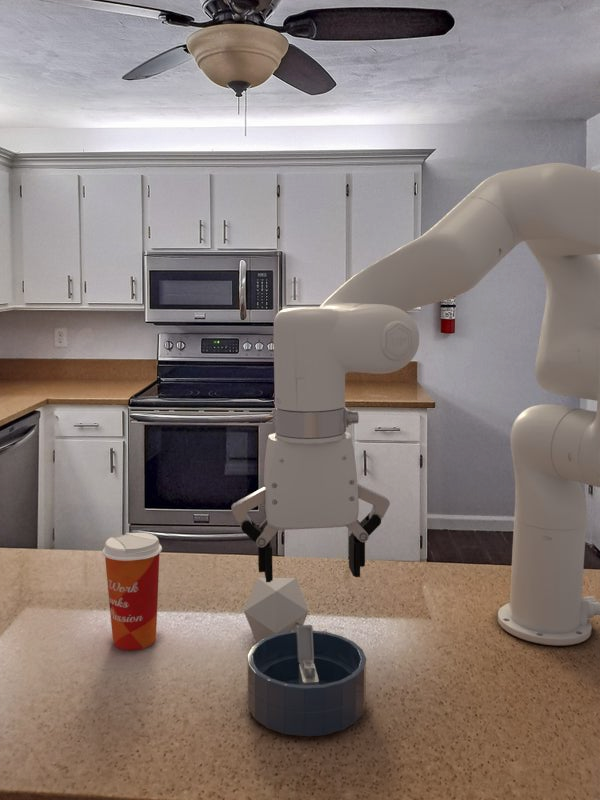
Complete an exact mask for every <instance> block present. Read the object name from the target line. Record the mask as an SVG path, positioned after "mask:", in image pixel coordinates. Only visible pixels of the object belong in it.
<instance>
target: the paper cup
mask: <svg viewBox="0 0 600 800" xmlns="http://www.w3.org/2000/svg"><path fill="white" fill-rule="evenodd" d="M162 550H163V547H162V545H161V544H160V540H159V538H158V537H157V536H156V535H155V534H151V533H148V532H126V533H125V534H123V533H122V534H119V535H115V536H114V537H111V536H110V537H109V538H108V539H107V540H106V541H105V543H104V547H103V548H102V552H101V553H102V555H103V556H104V560H105V561H104V562H105V570H106V571H105V572H106V581H107V583H106V584H107V595H108V605H109V615H110V624H111V634H112V635H111V636H112V642H113V645H114V647H115V648H117V649H120V650H122V651H139V650H143V649H147V648H148V647H150V646H152V645H153V644H154V643H155V642H156V637H157V626H158V625H157V623H158V601H159V575H160V553H162Z"/></svg>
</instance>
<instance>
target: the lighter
mask: <svg viewBox="0 0 600 800" xmlns="http://www.w3.org/2000/svg"><path fill="white" fill-rule="evenodd" d="M313 629H314V628H313V625H311V624H306V625H305V624H303V625H300V626H297V627H296V631H297V657H298V663H300V664H299V685H319V679H318V676H317V672H316V668H315V665H314V663H313V662H314V649H313V631H314V630H313Z"/></svg>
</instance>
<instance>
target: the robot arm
mask: <svg viewBox="0 0 600 800" xmlns="http://www.w3.org/2000/svg"><path fill="white" fill-rule="evenodd" d="M523 242H524V243H525V245H526V246H527V248H528V249H529V251H530V252H531V253H532V255H533V257H534V258H535V260H536V262H537V263H538V265H539V267H540V269H541V271H542V274H543V276H544V280H545V287H546V295H545V303H544V311H543V316H542V322H541V328H540V334H539V340H538V341H539V342H538V345H537V351H536V356H535V366H534V374H535V380H536V381H537V384H538V385H539V387H541V389H543V390H544V391H546V392H549V393H552V394H555V395H559V396H564V397H568V398H569V397H570V398H574V399H575V398H576V399H582V400H589V401H596V402H597V403H596V410H589V409H588V410H587V409H585V408H580V407H573V406H566V405H559V404H553V403H552V404H551V403H550V404H549V403H544V404H543V403H542V404H535V405H532V406H530V407H527V408H526V409H524V410H522V411H521V413H519V415H518V416H517V417H516V418H515V420H514V422H513V424H512V427H511V431H510V439H509V441H510V452H511V458H512V459H511V460H512V464H513V471H514V482H515V483H514V488H515V489H514V490H515V492H514V494H515V495H514V514H513V515H514V516H513V531H512V532H513V533H512V552H511V571H510V572H511V573H510V589H509V592H510V593H509V602H508V603H506V604H504V605H502V606H501V607H500V608H499V609H498V611H497V622H498V624H499V625H500V627H501V628H502V629H503V630H504V631H506V632H507V633H509V634H510V635H512V636H514V637H516V638H518V639H521V640H524V641H527V642H530V643H535V644H539V645H545V646H554V647H555V646H558V647H559V646H562V647H563V646H573V645H576V644H580V643H583V642H585V641H587V640H588V639H589V638H590V637H591V635H592V622H591V621H590V620H589V619H592V618H593V617H595V616H600V601H599V600H598V601H597V599H596V596H594V595H589V596H587V595H586V596H583V580H584V567H585V551H586V535H587V523H588V506H587V505H588V504H587V501H586V497H585V492H584V490H583V488H582V485H581V484H583V485H588V486H592V487H597V488H600V258H599V257H598V256H597V255H600V171H598V170H594V169H591V168H588V167H584V166H581V165H575V164H571V163H567V162H549V163H542V164H536V165H531V166H526V167H525V166H524V167H519V168H513V169H507V170H504V171H500V172H498V173H495V174H493V175H491V176H489V177H487V178H486V179H485V180H483V181H482V182H480V184H478V185H477V186H476V187H475V188H474V189H473V190H472V191H471V192H469V193H468V194H467V195H466V196H465V197H464V198H463V199H462V200H461V201H460V202H458V203H457V204H456V205H455V206H454V207H453V208H452V209H451V210H450V211H449V212H448V213H446V214H445V215H444V216H443V217H442V218H441V219H440V220H439V221H438V222H437V223H436V224H434V225H433V226H432V227H430V229H428V230H427V231H426V232H425V233H423V234H422V235H421V236H420V237H418V238H416V239H414V240H412V241H410V242H408V243H406V244H405V245H403V246H401V247H399V248H398V249H396V250H394V251H393V252H391V253H390V254H388V255H385V256H384V257H383V258H381V259H379V260H377V261H375V262H374V263H372V264H370V265H368V266H367V267H365V268H364V269H362V270H361V271H359V272H357V273H356V274H355V275H353V276H352V277H351V278H350V279H348V280H347V281H346V282H345V283H343V284H342V285H341V286H340V287H339V288H337V290H335V291H334V292H333V293H332V294H331V295H330V296H329V297H327V299H325V300H324V301H323V302H322V303H321V304H320V305H319V307H312V306H311V307H310V306H309V307H307V306H306V307H289V308H284V309H281V310H280V311H278V312H277V313H276V315H275V317H274V319H273V378H274V380H273V381H274V431H275V432H273V433H270V434H269V435H268V437H267V441H266V447H265V453H264V464H263V465H264V466H263V468H264V469H263V471H264V472H263V487H260V488H259V489H257V490H256V491H254V492H252V493H250V494H248V495H247V496H245V497H243V498H241V499H239V500H237V501H236V502H233V503H232V504H231V513H232V515H233V517H234V519H235V520H236V522H237V524H238V525H239V527H240V529H241V531H242V532H243V533H244V534H245V535H246V536H247V537H249V539H251V540H252V541H253V542H254V543H255V544H256V547H257V563H258V564H257V565H258V566H257V567H258V573H264V578H266V582H271V581H273V578H274V576H273V570H274V569H273V546H272V541H271V540H272V539H273V537H274V536H275V535H276V534H277V533H278V532H279V530H282V531H288V530H290V531H291V530H311V529H312V530H313V529H314V530H315V529H331V528H344V527H346V528H347V529H348V530H349V531H350V532H351V533H350V535H348V569H349V570H350V572H351V575H352V577H354V578H361V567H365V566H366V542H367V541H368V540H369V538H370V535H372V533H374V531H376V530H377V528H379V526H380V525H381V523H382V520H383V518H384V517H385V515H386V513H387V511H388V509H389V507H390V505H391V502H390V500H389V499H388V498H387V497H386V496H385V495H383V494H380V493H379V492H376V491H374V490H372V489H370V488H368V487H365V486H364V485H362V484H359V483H358V473H357V464H356V455H355V448H354V444H353V440H352V439H353V438H352V435H351V433H350V432H348V431H347V429H348V428H349V426H351V425H353V424H359V421H360V417H359V416H360V415H359V411H358V410H354V411H352V410H349V409H348V408H347V407H346V374H347V373H363V374H374V375H384V374H390V373H395V372H397V371H399V370H401V369H403V368H404V367H406V366H408V365H409V364H410V362H411V361H412V360H413V359H414V357H415V356H416V354H417V352H418V349H419V346H420V333H419V328H418V326H417V324H416V322H415V320H414V319H413V318H412V316H411V315H410V314H409V313H407V312H409V311H412V310H414V309H417V308H421V307H424V306H428V305H432V304H436V303H440V302H444V301H446V300H450V299H452V298H455V297H457V296H460V295H462V294H464V293H466V292H469V291H470V290H471V289H473V288H475V287H476V286H477V285H478V284H479V283H480V282H481V281H482V280H483V278H485V277H486V276H487V275H488V274H489V273H490V272H491V271H492V270H493V269H494V268H495V267H496V266H497V265H498V264H499V263H500V262H501V261H503V259H504V258H505V257H506V256H507V255H509V253H510V252H511V251H513V250H514V249H515V248H516V247H517V246H518V245H519V244H521V243H523ZM360 500H361V501H363V502H365V503H368V504H370V505H372V507H371V510H370V512H369V513H368V514H367V515H366V516H365V517H364V518H363V519H362V520H361V521H359V519H358V518H359V509H360V507H359V506H360V503H359V501H360ZM260 505H263V513H264V515H265V516H266V518H265V519H264V520H263V521H262V522H261V524H260V525H258V524H256V523H255V522H254V521H253V520H252V519H251V517H250V516H249V514H248V512H249V511H251V510H253V509H255V508H256V507H259V506H260Z"/></svg>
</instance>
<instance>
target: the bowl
mask: <svg viewBox="0 0 600 800" xmlns="http://www.w3.org/2000/svg"><path fill="white" fill-rule="evenodd" d="M313 649H314V662H313V663H314V665H315V668H316V672H317V676H318V679H319V685H299V664H300V663H298V657H297V631H288V632H283V633H278V634H274V635H272V636H269V637H267V638H264V639H262V640H261V641H259V642H258V643H255V644H254V645H253V646H252V647H251V649H250V650H249V652H248V653H247V707H248V711H249V712H250V713H251V715H252V716H253V718H254V719H255V720H256V721H257V722H258V723H260V724H261V725H263V726H264V727H266V728H267V729H270V730H272V731H275V732H277V733H281V734H285V735H292V736H298V737H299V736H300V737H316V736H325V735H329V734H332V733H337V732H340V731H343V730H345V729H346V728H348V727H350V726H352V725H354V724H355V723H356V722H357V721H358V720H359V719H360V718H361V717H362V715H363V714H364V712H365V707H366V691H367V690H366V689H367V657H366V655H365V652H364V650H363V649H362V647H361V646H359V645H358V644H357V643H356V642H355V641H353V640H351V639H349V638H347V637H344V636H342V635H340V634H336V633H332V632H328V631H322V630H313Z"/></svg>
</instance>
